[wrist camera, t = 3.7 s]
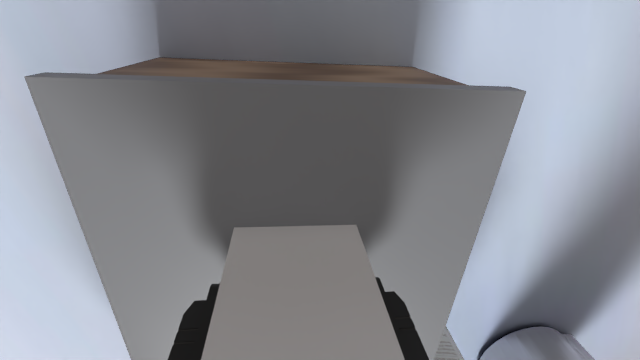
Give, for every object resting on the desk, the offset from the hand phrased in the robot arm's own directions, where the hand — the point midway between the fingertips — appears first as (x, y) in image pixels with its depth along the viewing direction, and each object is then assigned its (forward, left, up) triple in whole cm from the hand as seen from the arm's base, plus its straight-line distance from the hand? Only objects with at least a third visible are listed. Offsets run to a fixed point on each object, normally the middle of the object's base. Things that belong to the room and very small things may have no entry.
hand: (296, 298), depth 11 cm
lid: (0, 0, -2) cm, 2 cm away
